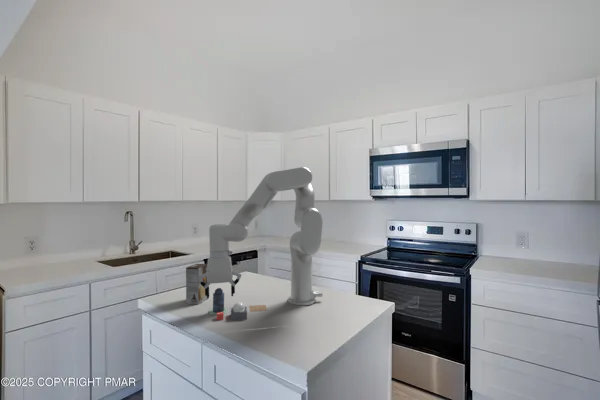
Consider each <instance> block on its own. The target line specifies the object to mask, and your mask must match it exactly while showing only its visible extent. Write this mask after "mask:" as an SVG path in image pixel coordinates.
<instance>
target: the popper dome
mask: <svg viewBox="0 0 600 400" xmlns="http://www.w3.org/2000/svg"><path fill="white" fill-rule="evenodd" d="M244 306H245V305H244V303H243V302H241V301H240V302H239V301H238V302H236V303H234V305H233V306H232V307H233V313H234V312H245V307H244Z"/></svg>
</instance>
